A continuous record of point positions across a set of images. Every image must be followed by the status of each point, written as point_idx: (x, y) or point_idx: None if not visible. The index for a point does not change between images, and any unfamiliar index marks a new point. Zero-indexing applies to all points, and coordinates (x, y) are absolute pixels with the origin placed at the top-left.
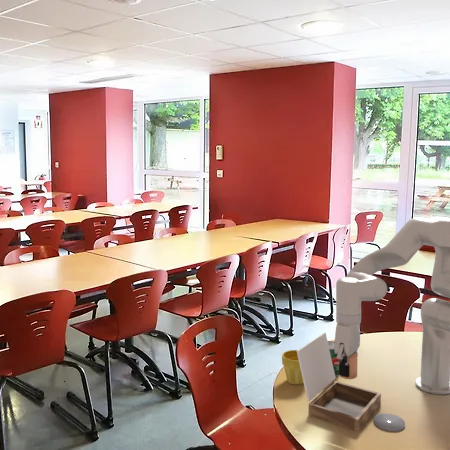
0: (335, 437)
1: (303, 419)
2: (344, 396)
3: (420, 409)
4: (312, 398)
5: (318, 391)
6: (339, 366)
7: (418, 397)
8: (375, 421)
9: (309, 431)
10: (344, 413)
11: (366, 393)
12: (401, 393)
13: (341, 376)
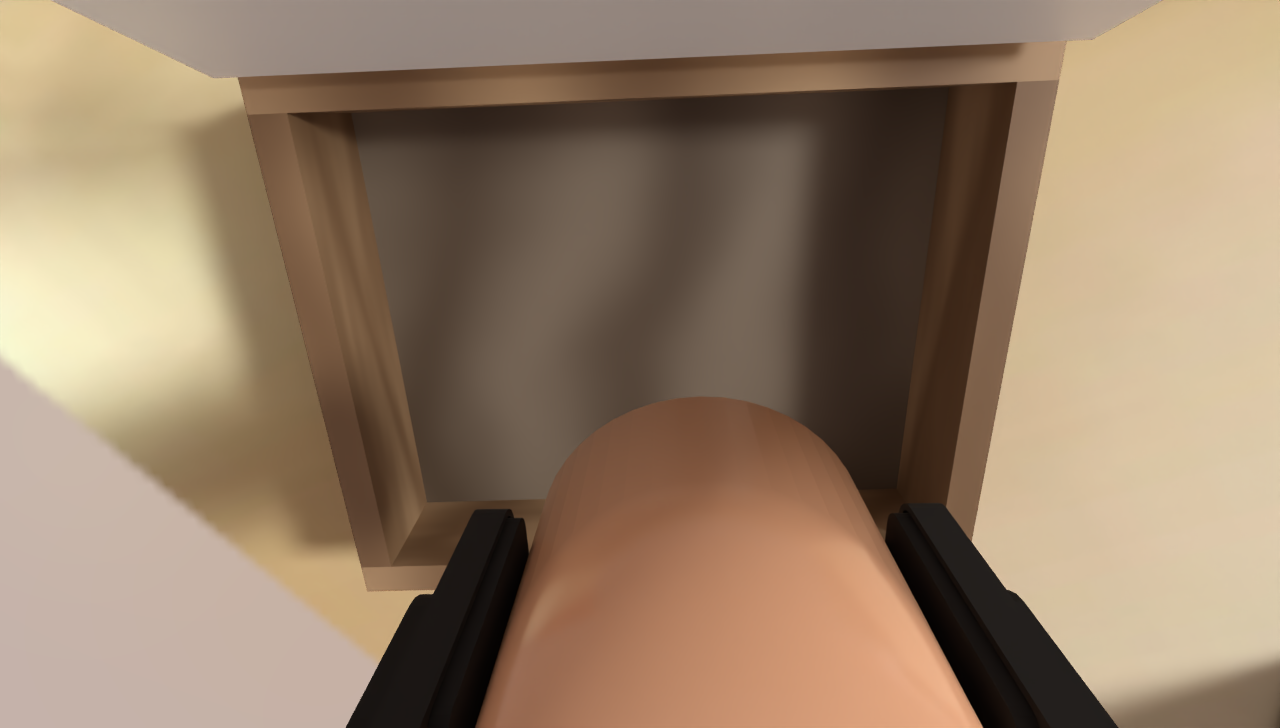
0: (224, 429)
1: None
2: (907, 202)
3: None
4: (307, 73)
5: (497, 58)
6: (409, 655)
7: (1183, 661)
8: None
9: (115, 228)
10: (583, 345)
11: (942, 444)
12: (1211, 559)
13: (548, 496)
